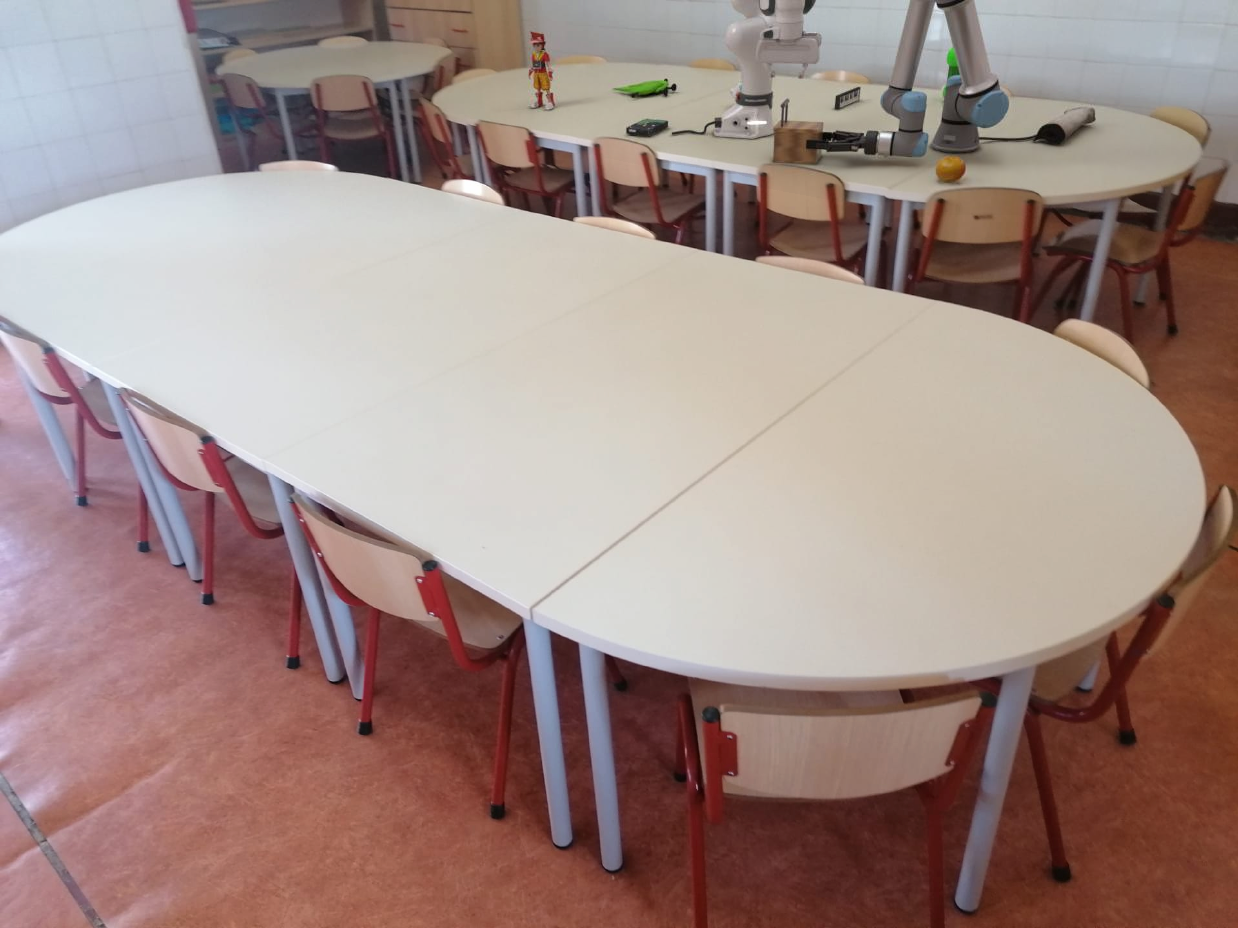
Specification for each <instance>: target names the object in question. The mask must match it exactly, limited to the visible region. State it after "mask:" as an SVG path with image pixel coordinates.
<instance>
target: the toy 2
mask: <svg viewBox="0 0 1238 928" xmlns="http://www.w3.org/2000/svg"><path fill="white" fill-rule="evenodd" d="M669 85H670V83H669V79H668V78H664V79H663V80H649V81H644V82H640V83H634V84H629V85H627V86H621V87H613V88H612V89H613V90H616V91H619V92H623V93H627V94H628V93H629V94H631V95H630V96H631V98H632V99H634V98H636V96H637V95H650V94H652V93H654V94H658V93H662V95H663V96H665V97H667V96H668V95H669V90H671V91H672V92H676V91H677V84H676V83H672V84H671V86H669Z"/></svg>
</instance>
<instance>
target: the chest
mask: <svg viewBox="0 0 1238 928" xmlns="http://www.w3.org/2000/svg"><path fill="white" fill-rule="evenodd" d="M823 132H824V126H823V127H822V128H821V130H820V131H819V133H794V132H774V133H773V156H772V162H773V163H782V164H784V163H785V164H802V165H804V164H805V165H817V164H818V161H819V160H820V158H821V157H822V150H821V149H806V140H822V137H823Z"/></svg>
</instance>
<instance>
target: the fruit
mask: <svg viewBox="0 0 1238 928" xmlns="http://www.w3.org/2000/svg"><path fill="white" fill-rule="evenodd" d="M966 171H967V165H966V163H965V161H964V160H963V159H962V158H960V157H958V156H953V155H952V156H951V155H949V156H945V157H943V158H941V159H940V160H939V161H938V162H937V164H936V167H935V175H936V177H937V178H938V179H939V180H940V181H942V182H946V183H954V182H958V181H959V180H960V179H962V178H963V177H964V176H965V173H966Z"/></svg>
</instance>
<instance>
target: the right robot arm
mask: <svg viewBox="0 0 1238 928" xmlns="http://www.w3.org/2000/svg"><path fill="white" fill-rule="evenodd" d="M935 5H936V7H937V9H939V10H941V11H943V13H944V16H945V20H946V24H947V28H948V33H949V36H950V41H951V44H952V47H953V49H954V53H955V56H956V60H957V64H958V68H959V72H960V75H956V76H951V77H950V78H949V79H948V80H947V79H946V84H945V85H946V87H945V86H944V87H945V97H943V105H942V111H941V119H940V124H939V126H938V127H937V130H936V133H935V134H934V136H933V139H932V141H931V147H932V149H934V150H935V151H939V152H942V153H948V154H950V153H951V154H964V153H965V154H966V153H972V152H976V151H977V150H978V149H979V148H980V141H999V142H1000V141H1003V142H1017V141H1018V142H1020V141H1028V140H1033V139H1034V138H1035V136H1036V134H1034V135H1030V136H1024V137H993V136H992V137H990V136H980V135H979V128H982V129H989V128H990V129H991V128H993V127H995V126H997V125H998V124H999V123H1000V122H1002V120H1003V119H1004V118H1005V116H1006V115H1007V113H1008V111H1009V107H1010V99H1009V96H1008V94H1007V93H1006V92H1005V91H1004V90H1001V85H1000V82H999V77H998V75H997V74H996V73H993V72H991V67H990V63H989V59H988V53H987V50H986V46H985V41H984V37H983V32H982V28H981V23H980V20H979V16H978V11H977V8H976V3H975V0H909V4H908V8H907V12H906V15H905V19H904V24H903V28H902V32H901V35H900V39H899V43H898V48H897V52H896V56H895V60H894V64H893V67H892V72H891V76H890V81H889V85H888V88H887V89H886V90H884V92H883V93H882V94H881V97H880V101H879V103H880V107H881V108H882V109H883V111H884V112H885V113H887V114H888V115H891V116H893V117H894V118H896V119H898V121H899V122H898V131H893V130H881V131H879V130H867V131H866V133H864V132H854V131H844V130H838V129H837V130H835V131H833V132H832V131H823V137H822V140H806V149H821V151H823V150H825V151H826V153H844V152H845V153H847V152H849V153H850V152H851V153H854V152H855V153H858V151H859V150H861V149H862V150H863V153H864V155H866V156H875V155H877V156H883V157H884V158H887V157H889V156H890V157H901V158H902V157H905V158H923V157H925V155H926V153H927V150H928V145H929V144H928V143H929V135H930V134H929V133H928V132H925V131H924V123H925V116H926V111H927V105H928V104H927V99H928V96H927V94H926V93H925V92H923V91H918V90H917V91H916V90H913V87H914V84H915V80H916V77H917V73H918V68H919V65H920V61H921V58H922V53H923V49H924V46H925V42H926V39H927V34H928V31H929V27H930V23H931V19H932V16H933V13H934V8H935Z"/></svg>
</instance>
